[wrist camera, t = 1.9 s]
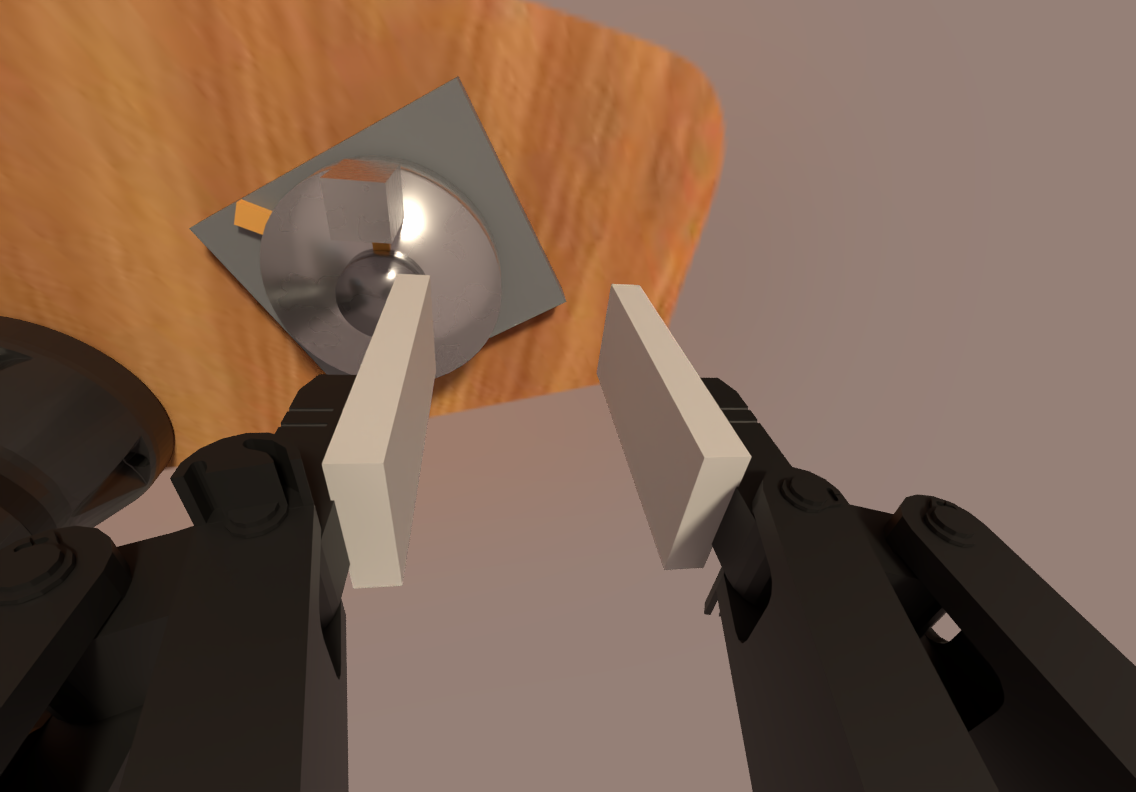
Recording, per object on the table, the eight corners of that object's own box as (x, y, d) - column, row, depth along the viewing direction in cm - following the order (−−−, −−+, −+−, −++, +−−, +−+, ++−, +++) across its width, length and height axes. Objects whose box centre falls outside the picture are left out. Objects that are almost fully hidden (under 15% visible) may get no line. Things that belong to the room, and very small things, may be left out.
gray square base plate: (359, 386, 34) (351, 407, 32) (207, 217, 27) (183, 232, 25) (562, 289, 32) (567, 305, 30) (458, 76, 25) (455, 78, 22)
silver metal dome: (372, 387, 32) (349, 456, 26) (225, 221, 25) (153, 268, 20) (534, 310, 30) (545, 367, 25) (425, 109, 23) (407, 127, 18)
